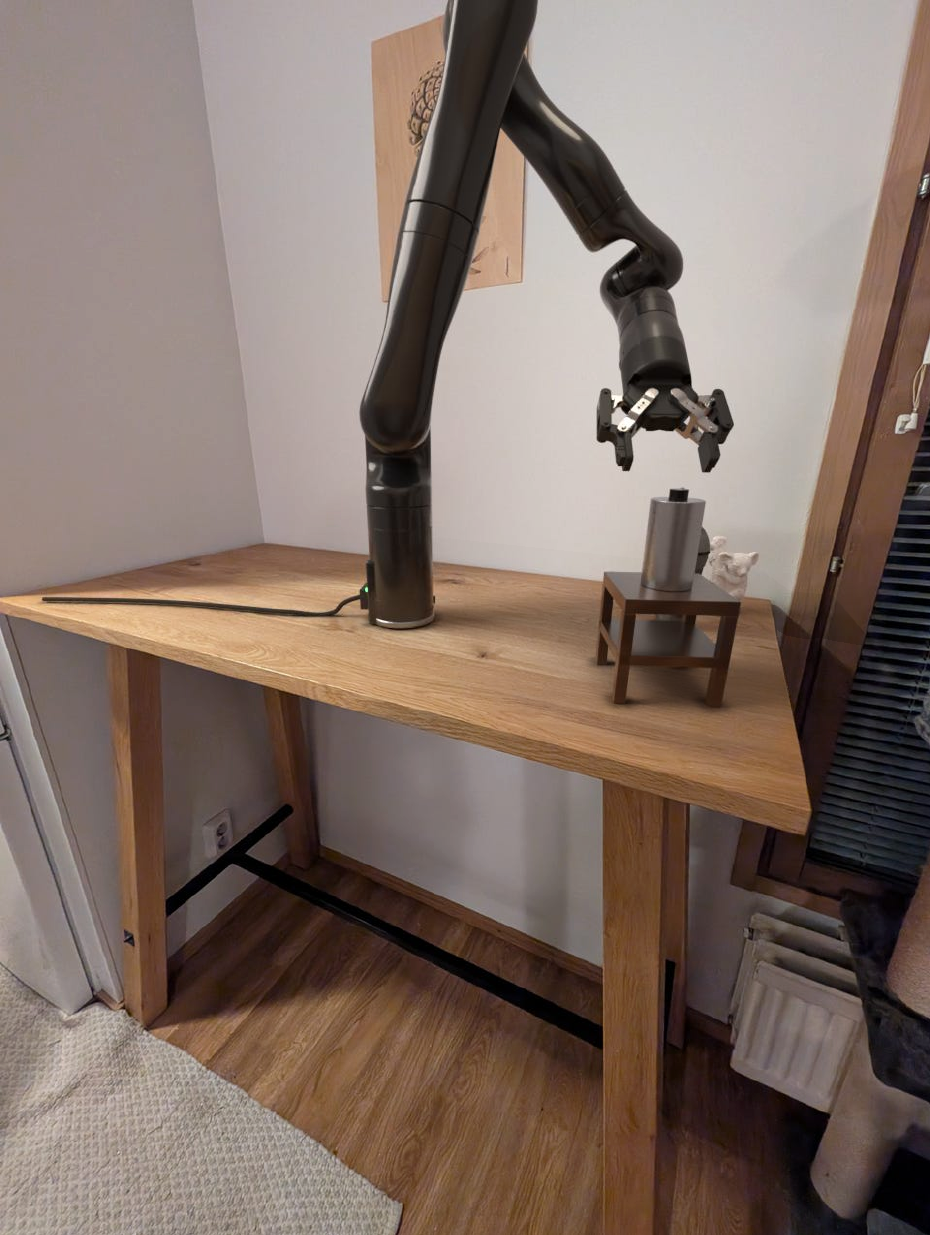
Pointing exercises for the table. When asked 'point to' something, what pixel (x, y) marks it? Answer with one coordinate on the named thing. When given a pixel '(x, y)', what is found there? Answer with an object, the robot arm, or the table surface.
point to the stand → (665, 630)
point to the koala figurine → (730, 567)
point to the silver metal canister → (672, 541)
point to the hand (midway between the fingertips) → (668, 466)
